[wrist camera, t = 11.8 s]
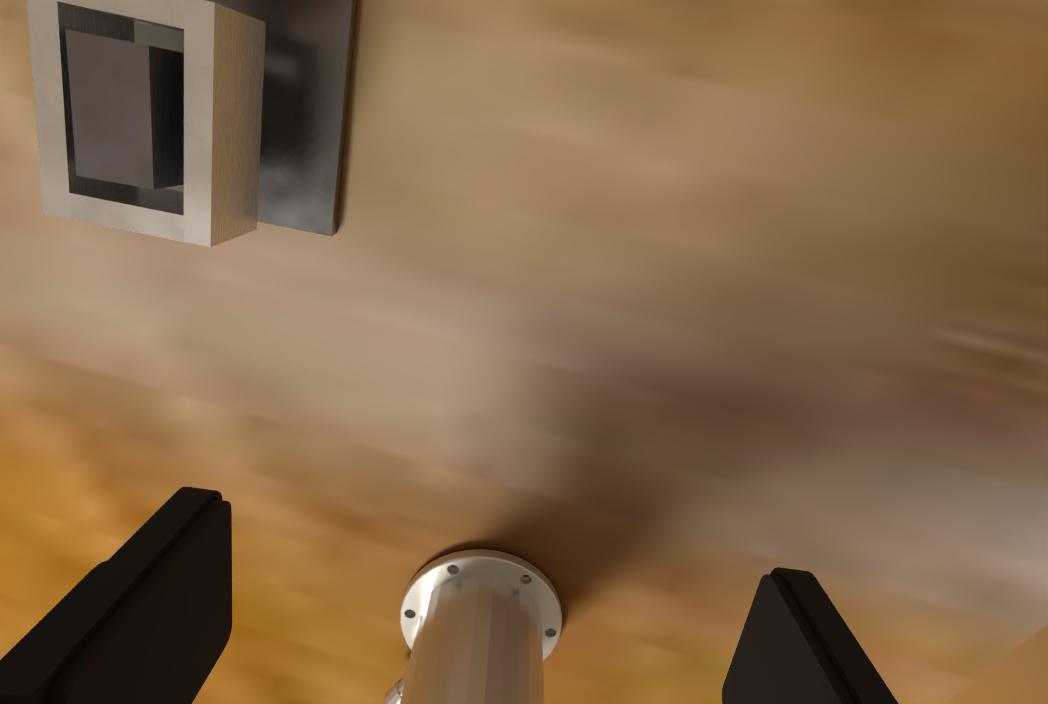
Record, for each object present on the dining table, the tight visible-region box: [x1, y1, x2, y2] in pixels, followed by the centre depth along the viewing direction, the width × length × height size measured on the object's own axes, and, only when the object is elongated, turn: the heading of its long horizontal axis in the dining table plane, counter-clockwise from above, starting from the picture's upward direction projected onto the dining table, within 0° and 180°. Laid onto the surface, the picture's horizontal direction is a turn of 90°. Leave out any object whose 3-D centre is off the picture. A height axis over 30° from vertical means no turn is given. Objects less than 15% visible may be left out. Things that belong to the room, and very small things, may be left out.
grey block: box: [65, 29, 184, 190], centre depth 29 cm, size 6×3×10 cm, turn 170°
